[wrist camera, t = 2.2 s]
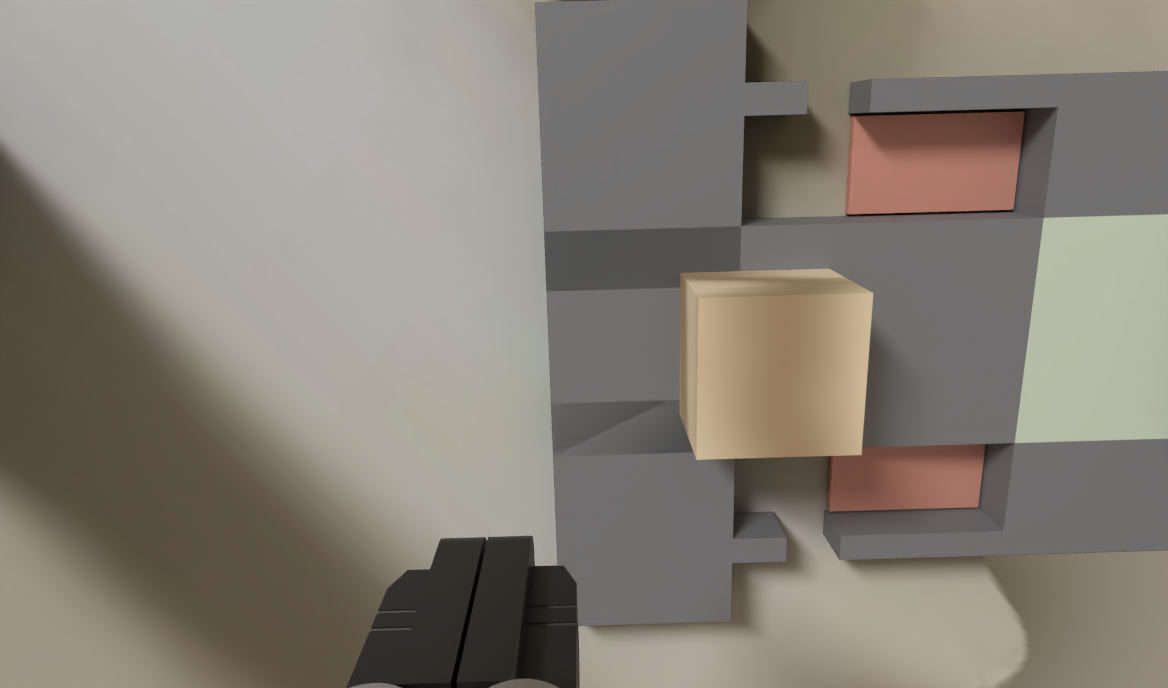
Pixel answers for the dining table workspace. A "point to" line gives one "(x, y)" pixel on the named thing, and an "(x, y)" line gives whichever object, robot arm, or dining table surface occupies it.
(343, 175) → the dining table surface
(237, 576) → the dining table surface
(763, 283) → the block
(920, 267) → the track
